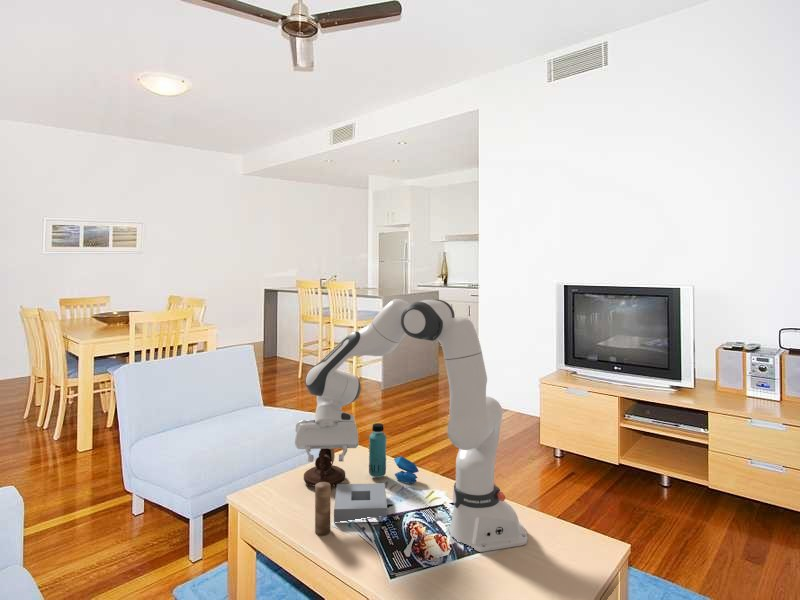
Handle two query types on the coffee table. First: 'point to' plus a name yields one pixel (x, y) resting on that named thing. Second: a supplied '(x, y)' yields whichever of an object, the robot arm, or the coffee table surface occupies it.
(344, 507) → the grey square socket block
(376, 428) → the beverage bottle
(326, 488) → the walnut dowel
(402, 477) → the open blue clamshell
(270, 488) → the coffee table surface
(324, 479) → the dark brown ring stand
